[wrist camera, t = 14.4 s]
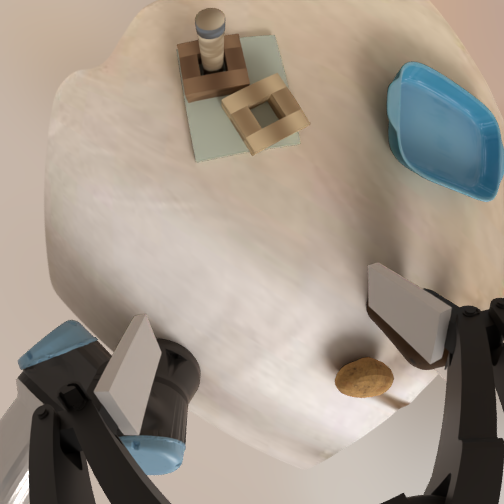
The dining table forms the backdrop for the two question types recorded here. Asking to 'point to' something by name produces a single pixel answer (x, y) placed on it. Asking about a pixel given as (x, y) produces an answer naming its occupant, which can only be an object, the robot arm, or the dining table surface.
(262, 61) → the pale green flat mat
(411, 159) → the casserole dish
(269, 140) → the light wooden square frame
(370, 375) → the potato
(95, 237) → the dining table surface
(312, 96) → the dining table surface
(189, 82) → the brown square wooden frame
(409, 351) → the olive oil
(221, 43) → the banded wooden cylinder
